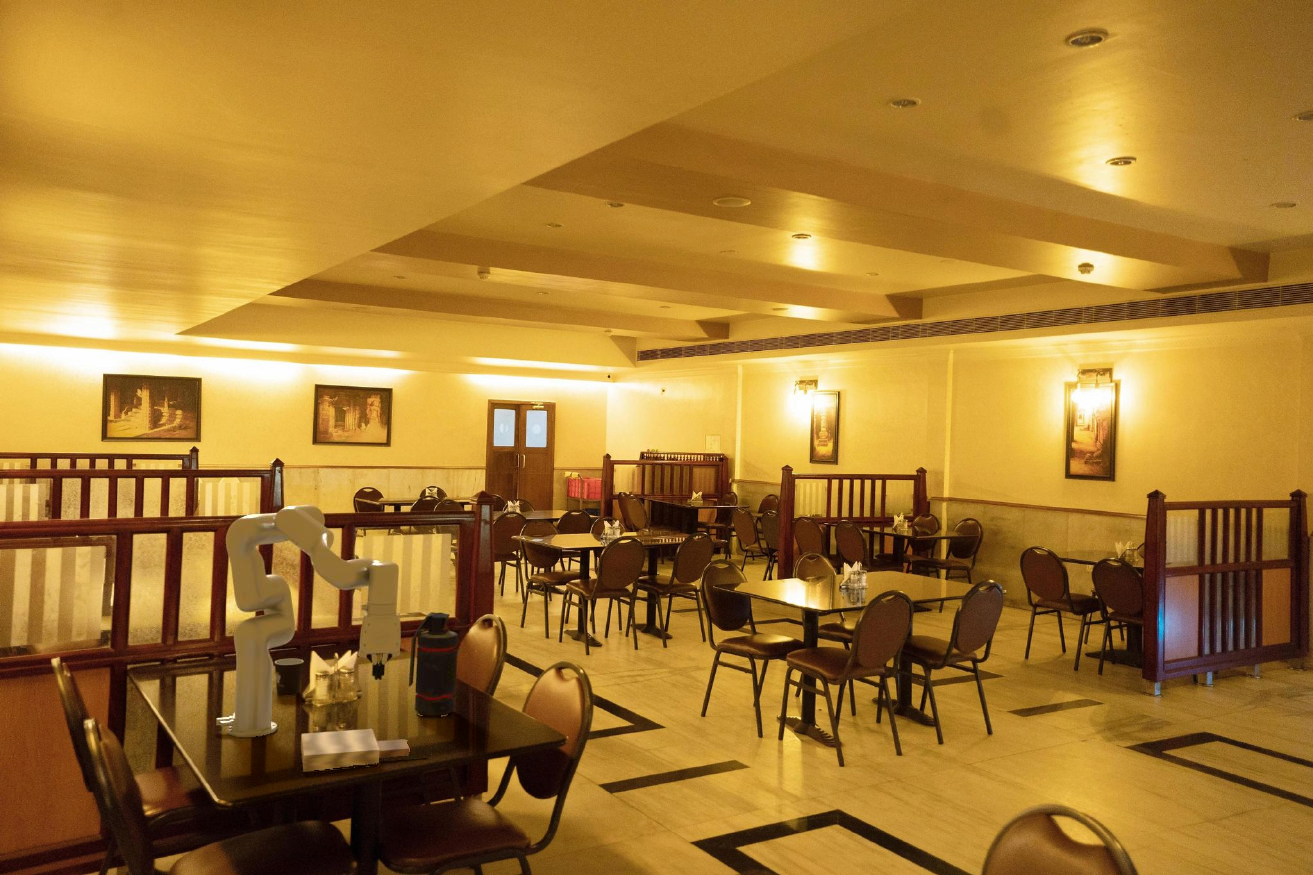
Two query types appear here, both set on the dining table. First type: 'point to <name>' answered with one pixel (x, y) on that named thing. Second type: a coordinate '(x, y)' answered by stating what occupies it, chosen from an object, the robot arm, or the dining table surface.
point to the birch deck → (338, 749)
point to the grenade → (434, 666)
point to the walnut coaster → (393, 748)
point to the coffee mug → (288, 676)
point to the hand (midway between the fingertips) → (377, 678)
